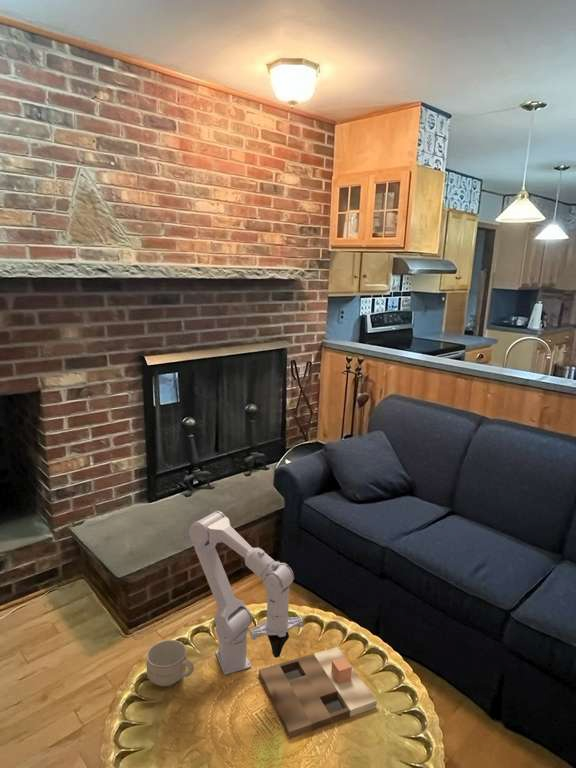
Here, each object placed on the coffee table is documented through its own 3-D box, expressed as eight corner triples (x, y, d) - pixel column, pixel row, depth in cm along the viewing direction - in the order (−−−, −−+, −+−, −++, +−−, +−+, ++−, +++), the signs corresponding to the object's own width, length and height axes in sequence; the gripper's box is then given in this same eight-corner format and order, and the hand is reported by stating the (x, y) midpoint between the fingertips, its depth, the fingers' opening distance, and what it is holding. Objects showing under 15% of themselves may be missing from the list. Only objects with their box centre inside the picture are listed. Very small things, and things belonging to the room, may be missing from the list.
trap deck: (258, 675, 137) (259, 669, 137) (337, 652, 147) (337, 646, 147) (288, 739, 118) (289, 732, 118) (376, 707, 128) (376, 700, 128)
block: (331, 673, 137) (332, 660, 136) (343, 669, 138) (344, 656, 137) (338, 683, 133) (339, 670, 132) (351, 679, 135) (351, 666, 134)
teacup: (138, 680, 134) (137, 654, 133) (168, 656, 143) (168, 632, 142) (173, 705, 127) (173, 678, 125) (203, 679, 135) (203, 654, 134)
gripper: (257, 626, 123) (255, 672, 126) (308, 613, 129) (306, 657, 132) (247, 609, 130) (246, 654, 132) (297, 597, 136) (295, 640, 138)
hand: (275, 654), depth 133 cm, fingers closed
